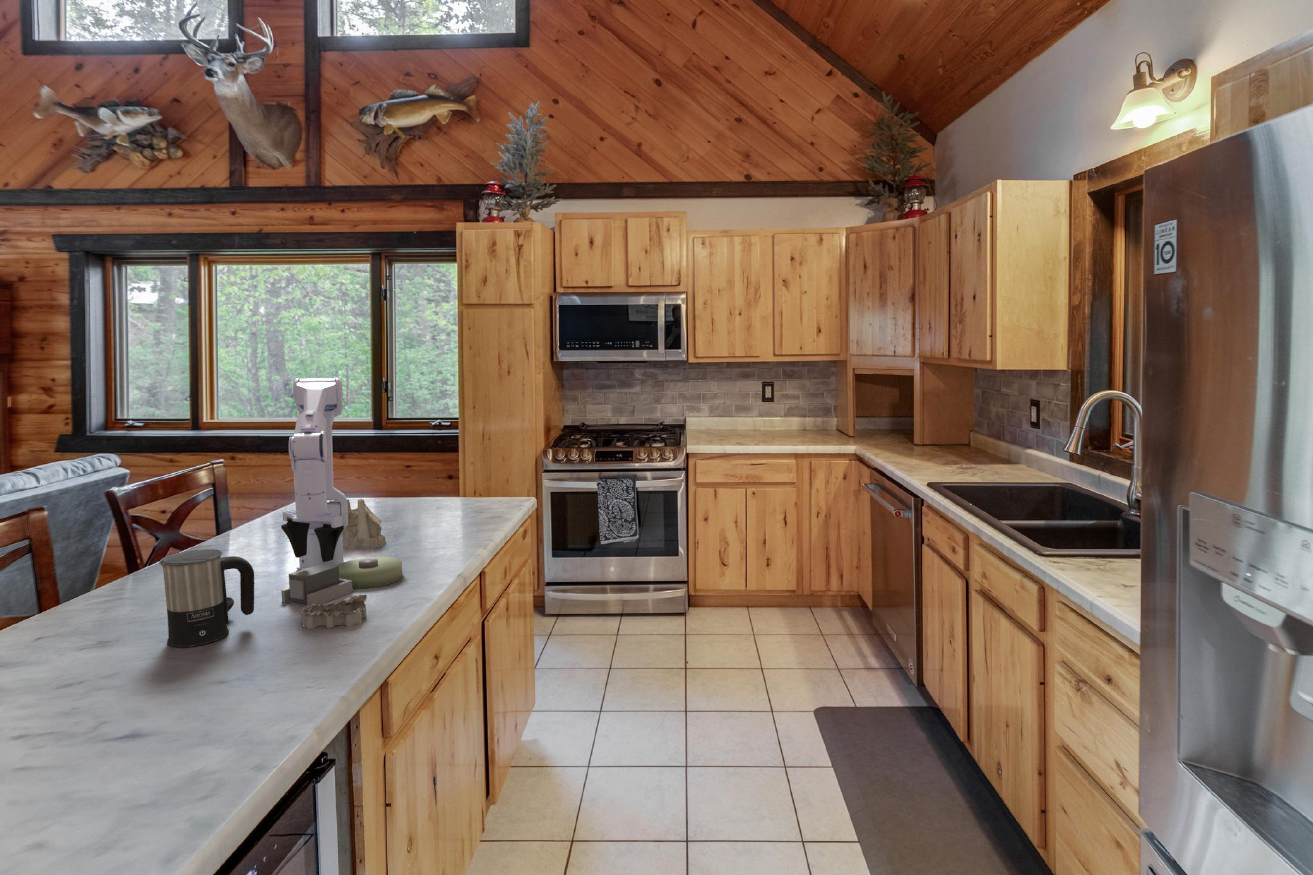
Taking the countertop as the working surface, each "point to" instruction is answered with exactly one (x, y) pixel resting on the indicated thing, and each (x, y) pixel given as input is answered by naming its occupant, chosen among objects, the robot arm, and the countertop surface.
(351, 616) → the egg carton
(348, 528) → the ceramic cottage
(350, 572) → the green disc with bracket
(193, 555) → the milk frother
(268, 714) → the countertop surface
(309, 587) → the grey block with ledge
